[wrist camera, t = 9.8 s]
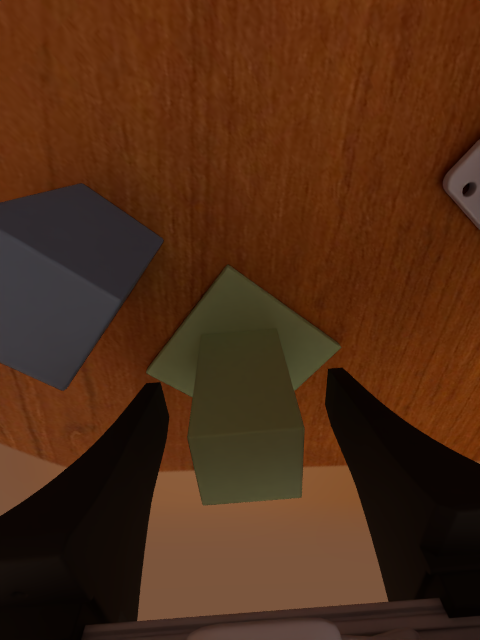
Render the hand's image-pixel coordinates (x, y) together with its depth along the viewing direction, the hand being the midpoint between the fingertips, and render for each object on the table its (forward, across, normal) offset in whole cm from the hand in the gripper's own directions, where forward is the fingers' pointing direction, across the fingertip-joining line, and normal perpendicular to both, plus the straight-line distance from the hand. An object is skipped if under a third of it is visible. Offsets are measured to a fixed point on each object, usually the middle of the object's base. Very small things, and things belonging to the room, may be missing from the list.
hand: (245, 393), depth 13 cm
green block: (+2, 0, 0) cm, 2 cm away
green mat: (+3, 0, 0) cm, 3 cm away
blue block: (+3, +5, -6) cm, 9 cm away
